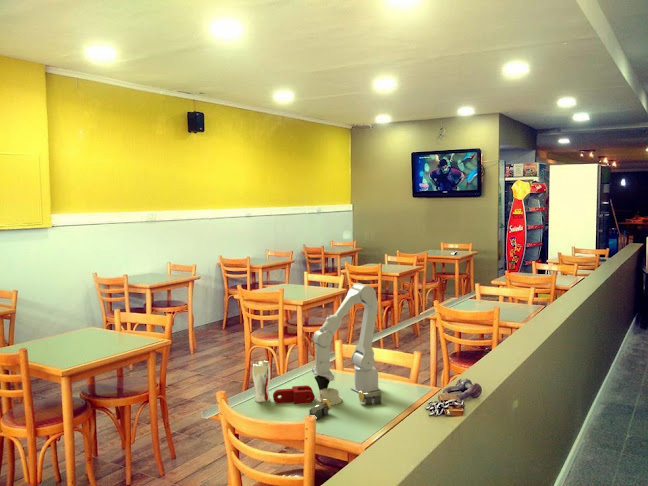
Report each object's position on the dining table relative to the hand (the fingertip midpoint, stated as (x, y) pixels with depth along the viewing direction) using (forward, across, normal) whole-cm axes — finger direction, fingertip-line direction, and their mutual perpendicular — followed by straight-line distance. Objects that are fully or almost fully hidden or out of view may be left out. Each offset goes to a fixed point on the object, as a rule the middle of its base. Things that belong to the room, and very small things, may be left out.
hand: (323, 393), depth 236 cm
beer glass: (+1, -11, -22) cm, 24 cm away
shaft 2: (+1, +17, +11) cm, 20 cm away
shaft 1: (+1, +17, -11) cm, 20 cm away
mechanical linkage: (+2, -2, -12) cm, 13 cm away
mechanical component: (+2, +5, 0) cm, 6 cm away
